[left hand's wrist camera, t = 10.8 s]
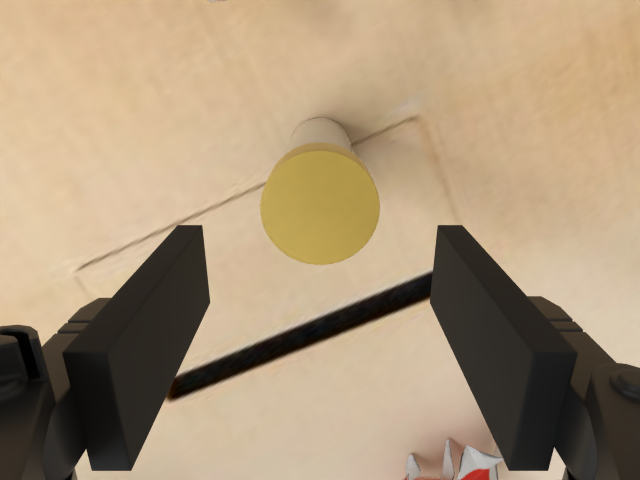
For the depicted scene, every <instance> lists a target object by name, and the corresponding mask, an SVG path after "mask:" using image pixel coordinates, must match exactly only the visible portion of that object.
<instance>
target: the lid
mask: <svg viewBox="0 0 640 480" xmlns="http://www.w3.org/2000/svg"><path fill="white" fill-rule="evenodd" d="M260 211H261V218H262V223H263V226H264V228H265V231H266V233H267V235H268V236H269V238H270V239H271V241H272V242H273V243H274V244H275V246H276V247H277V248H279V249H280V250H281V251H282V252H283V253H285V254H286V255H288V256H289V257H291V258H293V259H295V260H298V261H300V262H304V263H308V264H315V265H324V264H332V263H336V262H339V261H342V260H345V259H347V258H349V257H351V256H352V255H354V254H355V253H357V252H358V251H359V250H360V249H362V248H363V247H364V246H365V244H366V243H367V242H368V241H369V239H370V238H371V236H372V235H373V233H374V231H375V229H376V226H377V223H378V218H379V211H380V204H379V197H378V192H377V189H376V187H375V184H374V182H373V180H372V178H371V176H370V174H369V172H368V170H367V168H366V167H365V165H364V164H363V162H362V161H361V160H360V159H359V158H358V157H357V156H356V155H354V154H353V153H352V152H350V151H349V150H347V149H345V148H343V147H341V146H338V145H335V144H331V143H322V142H316V143H309V144H305V145H302V146H299V147H297V148H295V149H293V150H291V151H289V152H288V153H287V154H286V155H284V156H283V157H282V158H281V159H280V160H279V161H278V162H277V164H276V165H275V166H274V168H273V170H272V172H271V174H270V176H269V178H268V180H267V182H266V184H265V187H264V189H263V192H262V197H261V204H260Z"/></svg>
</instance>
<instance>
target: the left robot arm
mask: <svg viewBox="0 0 640 480" xmlns="http://www.w3.org/2000/svg"><path fill="white" fill-rule="evenodd" d="M209 304H210V296H209V287H208V277H207V267H206V258H205V248H204V238H203V229H202V225H178V226H177V227H176V228H175V229H174V230H173V231H172V232H171V233H170V234H169V235H168V237H167V238H166V239H165V240H164V241H163V242H162V243H161V244H160V245H159V246H158V248H157V249H156V250H155V251H154V252H153V253H152V254H151V255H150V256H149V257H148V259H147V260H146V261H145V262H144V263H143V264H142V265H141V266H140V267H139V268H138V270H137V271H136V272H135V273H134V274H133V275H132V276H131V277H130V278H129V279H128V281H127V282H126V283H125V284H124V285H123V286H122V287H121V288H120V289H119V290H118V292H117V293H116V294H115V295H114V296H113V297H112V298H98V299H96V300H95V301H93V302H91V303H89V304H87V305H86V306H84V307H82V308H80V309H79V310H78V311H77V312H76V313H75V314H74V315H73V316H72V317H71V318H70V319H69V320H68V323H65V324H64V325H63V326H62V327H61V328H60V329H59V330H58V333H57V334H54V335H53V336H52V337H51V338H50V339H49V340H48V341H47V342H46V343H45V344H44V345H43V346H42V347H41V343H40V340H39V336H38V332H37V331H36V330H35V329H33V328H32V327H30V326H23V325H10V326H1V327H0V480H77V475H76V471H75V468H74V467H75V466H76V464H77V463H78V461H79V459H80V458H81V456H82V454H83V453H84V451H85V450H86V449H87V453H88V457H89V461H90V465H91V469H92V471H131V470H132V468H133V466H134V463H135V461H136V459H137V457H138V455H139V453H140V451H141V449H142V446H143V444H144V442H145V440H146V438H147V436H148V434H149V432H150V429H151V427H152V425H153V423H154V421H155V419H156V417H157V414H158V412H159V410H160V408H161V406H162V404H163V402H164V400H165V397H166V395H167V393H168V391H169V389H170V387H171V385H172V383H173V380H174V378H175V376H176V374H177V372H178V370H179V368H180V366H181V363H182V361H183V359H184V357H185V355H186V353H187V351H188V349H189V346H190V344H191V342H192V340H193V338H194V336H195V334H196V332H197V329H198V327H199V325H200V323H201V321H202V319H203V317H204V315H205V312H206V310H207V308H208V306H209ZM430 304H431V306H432V308H433V310H434V312H435V315H436V317H437V319H438V321H439V323H440V325H441V327H442V329H443V332H444V334H445V336H446V338H447V340H448V342H449V344H450V346H451V349H452V351H453V353H454V355H455V357H456V359H457V361H458V363H459V366H460V368H461V370H462V372H463V374H464V376H465V378H466V380H467V383H468V385H469V387H470V389H471V391H472V393H473V395H474V397H475V400H476V402H477V404H478V406H479V408H480V410H481V412H482V414H483V417H484V419H485V421H486V423H487V425H488V427H489V429H490V432H491V434H492V436H493V438H494V440H495V442H496V444H497V446H498V449H499V451H500V453H501V455H502V457H503V459H504V461H505V463H506V466H507V468H508V470H509V471H548V469H549V465H550V461H551V457H552V453H553V449H554V447H555V449H556V450H557V452H558V454H559V455H560V457H561V459H562V460H563V462H564V463H565V465H566V468H565V471H564V475H563V479H562V480H640V368H638V367H635V366H631V365H628V364H621V363H616V362H615V361H614V360H613V359H612V358H611V357H610V356H609V355H608V354H607V353H606V352H605V351H604V350H603V349H602V348H601V347H600V346H599V345H598V344H597V343H596V342H595V341H594V340H593V339H592V338H591V337H590V336H589V335H588V334H587V333H586V332H583V329H582V328H581V327H580V326H579V325H578V324H577V323H576V322H573V321H572V318H571V317H570V316H569V315H568V314H567V313H566V312H565V311H564V310H563V309H562V308H561V307H559V306H557V305H556V304H554V303H552V302H550V301H548V300H547V299H545V298H543V297H541V296H526V295H525V294H524V293H523V292H522V290H521V289H520V288H519V287H518V286H517V285H516V284H515V283H514V282H513V281H512V279H511V278H510V277H509V276H508V275H507V274H506V273H505V272H504V271H503V270H502V268H501V267H500V266H499V265H498V264H497V263H496V262H495V261H494V260H493V259H492V257H491V256H490V255H489V254H488V253H487V252H486V251H485V250H484V249H483V248H482V246H481V245H480V244H479V243H478V242H477V241H476V240H475V239H474V238H473V237H472V235H471V234H470V233H469V232H468V231H467V230H466V229H465V228H464V227H463V226H462V225H438V229H437V238H436V248H435V258H434V267H433V277H432V287H431V296H430Z"/></svg>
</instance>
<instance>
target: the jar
mask: <svg viewBox="0 0 640 480" xmlns="http://www.w3.org/2000/svg"><path fill="white" fill-rule="evenodd" d="M316 142H322V143H331V144H335V145H338V146H341V147H343V148H345V149H347V150H349V151H350V152H352V153H353V154H354V155H355V153H354V150H353V148H352V145H351V143H350V140H349V138H348V136H347V134H346V132H345V130H344V129H343V128H342V127H341V126H340V125H339V124H338V123H336V122H335V121H333V120H330V119H327V118H313V119H310V120H307V121H305V122H304V123H302V124H301V125H300V126H299V127H298V128H297V129H296V130H295V132H294V134H293V136H292V138H291V141H290V143H289V145H288V148H287V150H286V153H285V155H286V154H287V153H288V152H289V151H291V150H293V149H295V148H297V147H299V146H302V145H305V144H309V143H316Z"/></svg>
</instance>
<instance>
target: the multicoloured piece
mask: <svg viewBox="0 0 640 480" xmlns="http://www.w3.org/2000/svg"><path fill="white" fill-rule="evenodd" d="M502 460H504V459H503V457H502V455H501V453H500V451H499V449H498V446H497V444H496V450H495V453H494V455H493V456H492V455H489V454H486V453H483V452H480V451H478V450H476V449H474V448H472V447H470V446H468V445H466V447H465V449H464V452H463V454H462V456H461V462H460V470H459V475H458V479H457V480H498V474H497V463H499V462H500V461H502ZM419 476H420V467H419V465H418V464H417V462H416V460H415V458H414V456H413V455H412V454H411V455H409V457H408V460H407V465H406V477H405V478H404V479H403V480H453V478H454V467H453V462H452V457H451V451H450V444H449V439H447V442H446V447H445V453H444V461H443V472H442V475H441V477H440V479H438V478H435V477H428V476H426V477H419Z"/></svg>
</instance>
